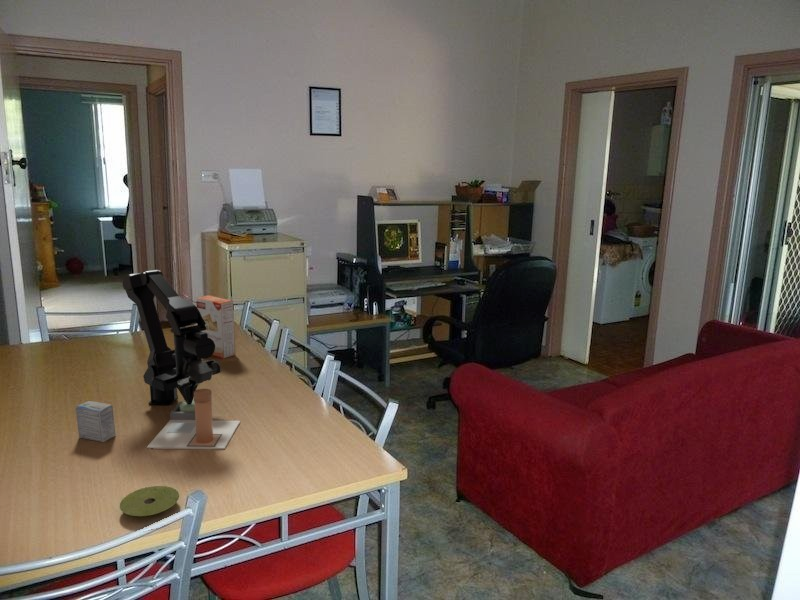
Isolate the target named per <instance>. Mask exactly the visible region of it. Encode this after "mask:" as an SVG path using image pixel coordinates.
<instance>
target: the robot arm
mask: <svg viewBox="0 0 800 600" xmlns="http://www.w3.org/2000/svg"><path fill="white" fill-rule="evenodd" d="M122 287H123V290H124V291H125V293H126V296H127V297H128V298H129V300H130V301H132V302H133V303H134V304H135V305H136V307H137V311H138V315H139V318H140V320H141V321H140V322H141V325H142V328H143V332H144V334H145V338H146V342H147V345H148V348H149V355H148V358H147V361H146V363H147V368H146V370H145V372H144V374H143V375H142V376H143V377H142V378H143V381H144V384H147V385H149V393H150V394H149V395H150V400H149V401H148V405H153V406H154V405H158V406H159V405H160V406H161V405H162V406H163V405H164V406H166V405H167V406H169V405H172V404H173V403H174V402H175V401H176V400H177V399H178V397H179V395H178V391H179V393H180V394H181V396H182V398H183V400H184V402H185V401H186V403H187V404H192V401H194V391H196V390H198V389H197V388H198V386H199V385H200V384H203V382H207V381H211V380H212V376H215V375H217V374H219V373H220V374H221V371H222V370H221V364H220V363H218V362H217V360H216V359H211V360H209V358H210V357H212V356H213V355H212V354H213V353H214V351H215V344H214V341H213V340H212V339H211V338H208V334H207V333H206V332H201V331H204V330H206V326H205V324H206V323H205V321H204V320H203V318H202V316H201V314H200V312H199V310H198V308H197V305H196V304H194V303H193V302H191V301H190V300H189V299H186V298H183V297H181V296H180V294H179V293H178V292H177V291H176V290H175V289H174V288H173V287H172V285H171V284H170V283H169V282H168V281H167V279H166V278H165V277H164V274H163V272H162V271H161V270H159V269H152V270H144V271H142V272H135V273H127V274H126V275H125V277H124V278H123V279H122ZM155 298H156V299H157V300H158V302H159V303H160V304H161V305H162V306H163V307H164V309H165V311H166V314H165V318H166V319H167V322H168V323H169V325H170V327H171V329H170V330H169V331H170V333H172V334H173V342H174V344H173V346H174V349H172V348H170V347H169V346H168V343H167V341H166V337H165V334H164V331H163V326H162V324H161V320H160V318H159V313H158V310H157V307H156V304H155Z"/></svg>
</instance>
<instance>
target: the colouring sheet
mask: <svg viewBox="0 0 800 600" xmlns="http://www.w3.org/2000/svg"><path fill="white" fill-rule="evenodd" d="M240 423H241V420H219V419H218V420H215V419H214V420H213V419H212V426H213V440H212V441H211V442H209V443H204V444H202V443H198V442H197V441H196V421H195V420H170V419H169V421H168V422H167V423H166V424H165V425H164V427H163V428H162V429H161V430H160V431H159V432H158V434H157V435H156V436H155V437H153V439H152V441H151V442H149V444H148V445H147V446H146V449H151V448H153V449H159V450H161V449H162V450H163V449H164V450H171V449H172V450H225V449H226V447H227V446H228V444H229V443H230V441H231V439H232V437H233V435H234V434H235V432H236V430H237V429H238V427H239V425H240Z"/></svg>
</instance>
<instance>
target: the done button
mask: <svg viewBox="0 0 800 600" xmlns="http://www.w3.org/2000/svg"><path fill="white" fill-rule="evenodd" d="M181 402H182V403H181V404H180V412H195V401H194V400H193V401H192V404H187V403H186V401H185V400H184V401H181Z"/></svg>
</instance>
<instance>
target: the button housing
mask: <svg viewBox="0 0 800 600" xmlns="http://www.w3.org/2000/svg"><path fill="white" fill-rule="evenodd" d="M182 402H183V401H179V402H178V403H177V404H176V406H174V408H173V409H172V410H171V411H170V412H169V418H170V419H169V421H170V420H195V412H180V404H181V403H182Z"/></svg>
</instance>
